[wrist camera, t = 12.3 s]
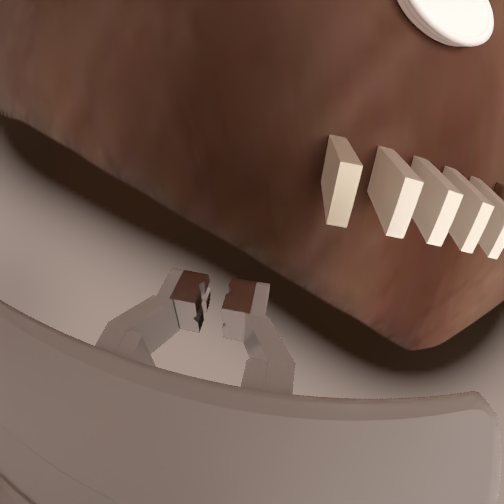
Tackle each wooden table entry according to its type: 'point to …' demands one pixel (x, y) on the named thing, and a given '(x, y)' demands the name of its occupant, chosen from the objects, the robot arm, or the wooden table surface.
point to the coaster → (452, 20)
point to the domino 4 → (468, 212)
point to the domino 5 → (491, 221)
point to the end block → (499, 190)
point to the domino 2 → (393, 191)
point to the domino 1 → (339, 180)
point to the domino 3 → (434, 202)
